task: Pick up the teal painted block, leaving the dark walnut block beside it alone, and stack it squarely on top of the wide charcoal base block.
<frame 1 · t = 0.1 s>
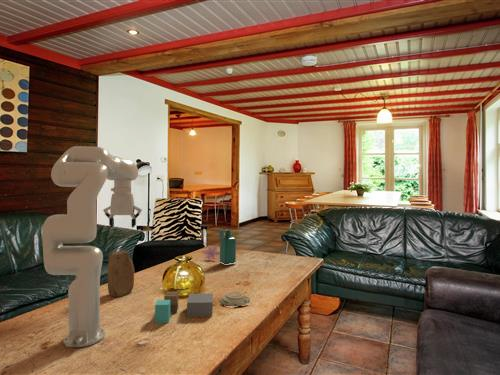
hand: (122, 227, 156), 31 cm above the table, tool pointing down, fingers open, 9 cm apart
canned food: (188, 284, 170), on the table
walnut block: (171, 310, 137), on the table
teal block: (162, 320, 127), on the table
brown rounded oval lump: (121, 294, 155), on the table
lily: (211, 260, 220), on the table
grey stepped disc: (235, 303, 147), on the table
green bottle: (226, 264, 210), on the table
base block: (200, 312, 136), on the table
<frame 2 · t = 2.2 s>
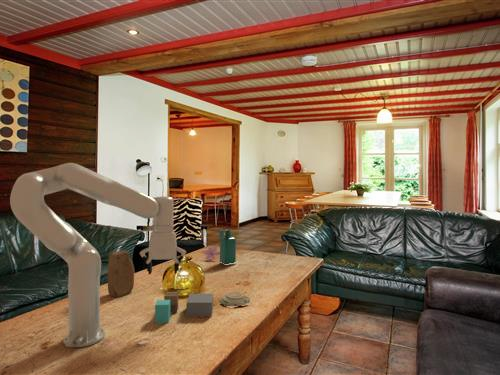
hand: (163, 273, 127), 18 cm above the table, tool pointing down, fingers open, 9 cm apart
nothing on the table moved.
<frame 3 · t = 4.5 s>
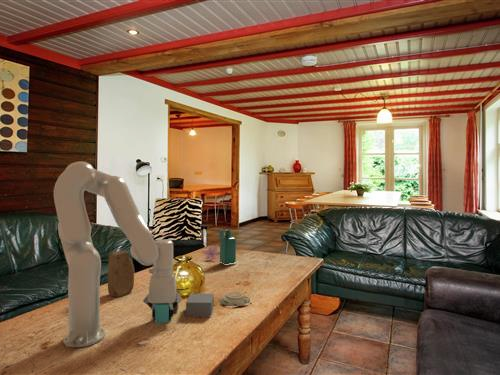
hand: (162, 318, 127), 1 cm above the table, tool pointing down, fingers closed on teal block, 5 cm apart
teal block: (162, 320, 127), on the table, touching gripper
everything else where it was.
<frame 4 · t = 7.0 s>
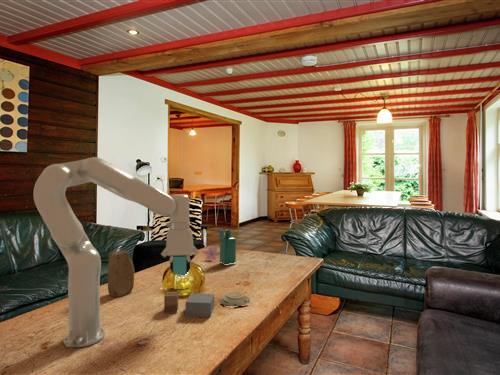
hand: (180, 271, 131), 18 cm above the table, tool pointing down, fingers closed on teal block, 5 cm apart
teal block: (180, 272, 131), point 17 cm above the table, touching gripper
when the fingers open (8 cm above the table, at t = 9.6 s): teal block drops 2 cm, resting on base block.
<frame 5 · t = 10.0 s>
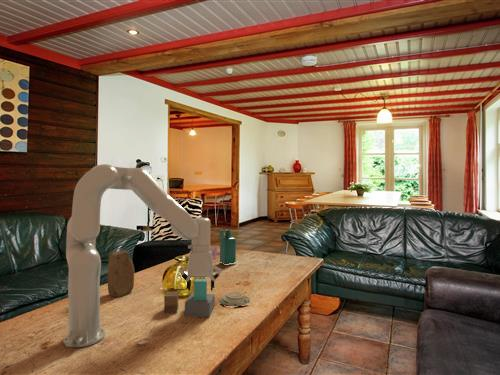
hand: (200, 289, 135), 9 cm above the table, tool pointing down, fingers open, 8 cm apart
teal block: (200, 297, 136), point 6 cm above the table, touching base block
base block: (200, 312, 136), on the table, touching teal block
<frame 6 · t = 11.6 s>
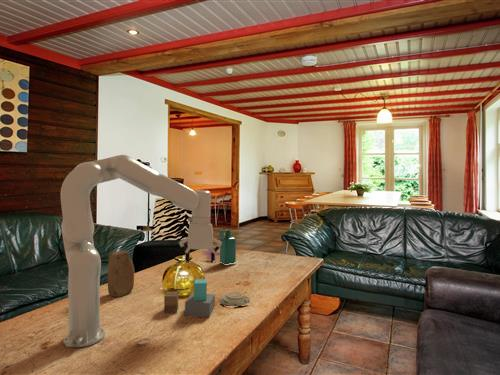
hand: (200, 262, 135), 21 cm above the table, tool pointing down, fingers open, 9 cm apart
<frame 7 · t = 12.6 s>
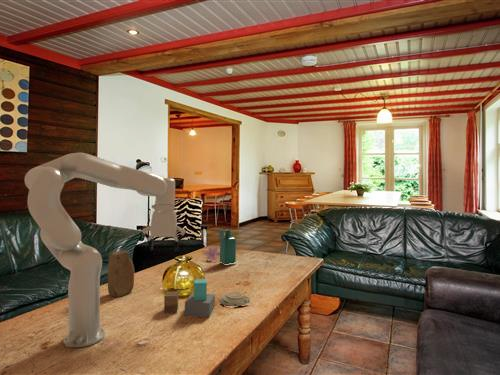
hand: (163, 250, 134), 25 cm above the table, tool pointing down, fingers open, 9 cm apart
teal block: (200, 297, 136), point 6 cm above the table
base block: (200, 312, 136), on the table
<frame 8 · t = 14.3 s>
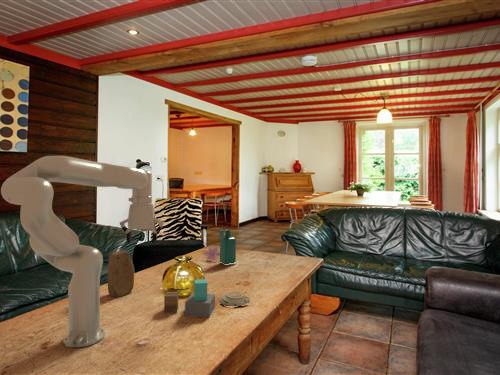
hand: (141, 242, 134), 28 cm above the table, tool pointing down, fingers open, 9 cm apart
teal block: (200, 298, 135), point 6 cm above the table, touching base block
base block: (200, 312, 136), on the table, touching teal block
at the end: teal block 0.1 cm off-centre on the base block, point 6.0 cm above the base block's base; teal block tilted 0°; walnut block moved 0.1 cm from its start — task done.
